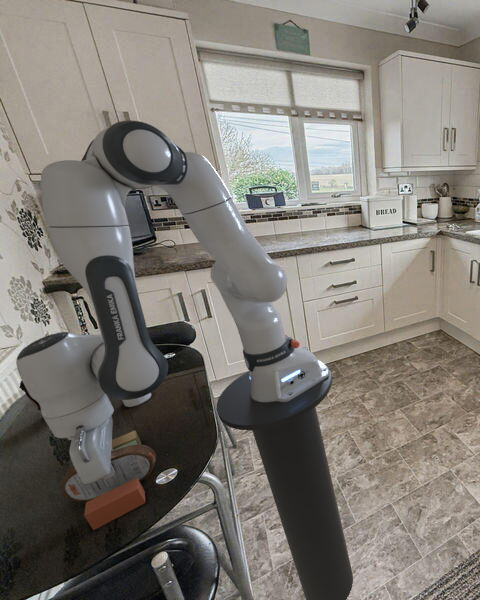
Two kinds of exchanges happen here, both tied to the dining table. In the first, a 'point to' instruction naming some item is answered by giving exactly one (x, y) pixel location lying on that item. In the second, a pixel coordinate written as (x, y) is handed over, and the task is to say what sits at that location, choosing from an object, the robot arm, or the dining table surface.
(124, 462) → the tin
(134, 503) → the terracotta block
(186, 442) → the dining table surface
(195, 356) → the dining table surface
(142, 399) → the white cup
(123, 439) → the beech block
